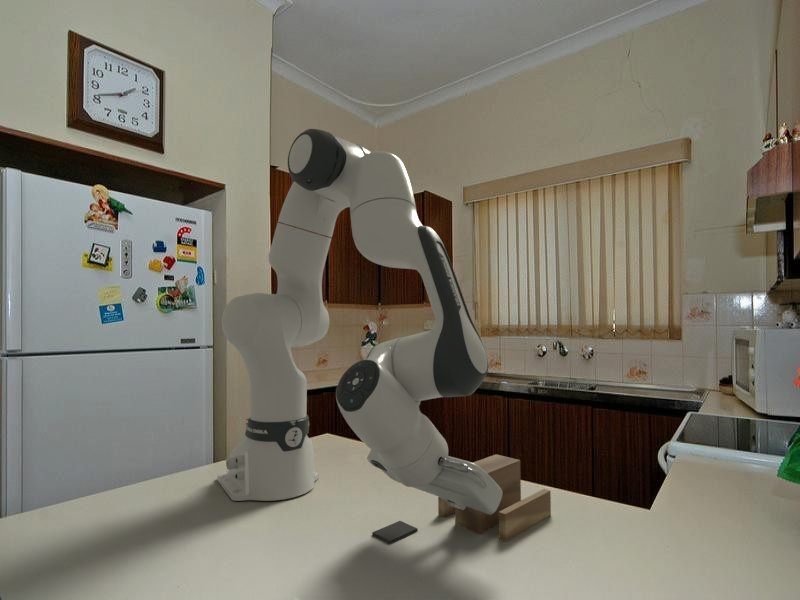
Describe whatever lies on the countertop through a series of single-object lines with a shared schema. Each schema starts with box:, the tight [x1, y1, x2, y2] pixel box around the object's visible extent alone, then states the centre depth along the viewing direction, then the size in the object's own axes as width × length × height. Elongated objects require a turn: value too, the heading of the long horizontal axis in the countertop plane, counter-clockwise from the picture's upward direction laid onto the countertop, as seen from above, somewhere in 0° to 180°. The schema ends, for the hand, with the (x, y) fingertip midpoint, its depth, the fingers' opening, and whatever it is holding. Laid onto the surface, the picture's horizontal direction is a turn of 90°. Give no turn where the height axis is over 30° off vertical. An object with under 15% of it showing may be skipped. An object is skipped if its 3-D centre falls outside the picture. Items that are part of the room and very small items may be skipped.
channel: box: [437, 488, 552, 542], centre depth 78 cm, size 13×14×4 cm
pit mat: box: [371, 520, 419, 545], centre depth 71 cm, size 4×6×1 cm, turn 134°
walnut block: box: [454, 453, 522, 535], centre depth 77 cm, size 5×12×9 cm, turn 134°
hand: (458, 503), depth 72 cm, fingers closed
